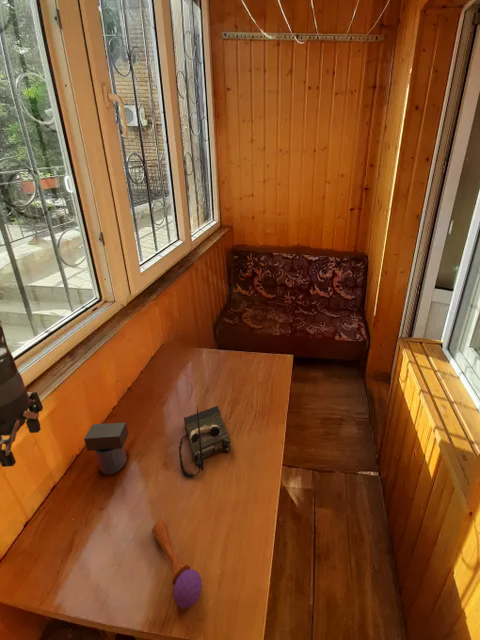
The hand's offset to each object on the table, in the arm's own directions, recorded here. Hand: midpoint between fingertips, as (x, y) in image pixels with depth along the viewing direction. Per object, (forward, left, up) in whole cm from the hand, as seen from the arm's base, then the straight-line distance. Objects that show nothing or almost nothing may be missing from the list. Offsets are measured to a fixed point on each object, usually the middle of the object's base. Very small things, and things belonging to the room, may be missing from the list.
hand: (23, 447), depth 73 cm
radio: (+37, +18, -28) cm, 50 cm away
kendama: (+35, -12, -28) cm, 47 cm away
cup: (+9, +16, -28) cm, 34 cm away
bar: (+9, +16, -19) cm, 26 cm away
